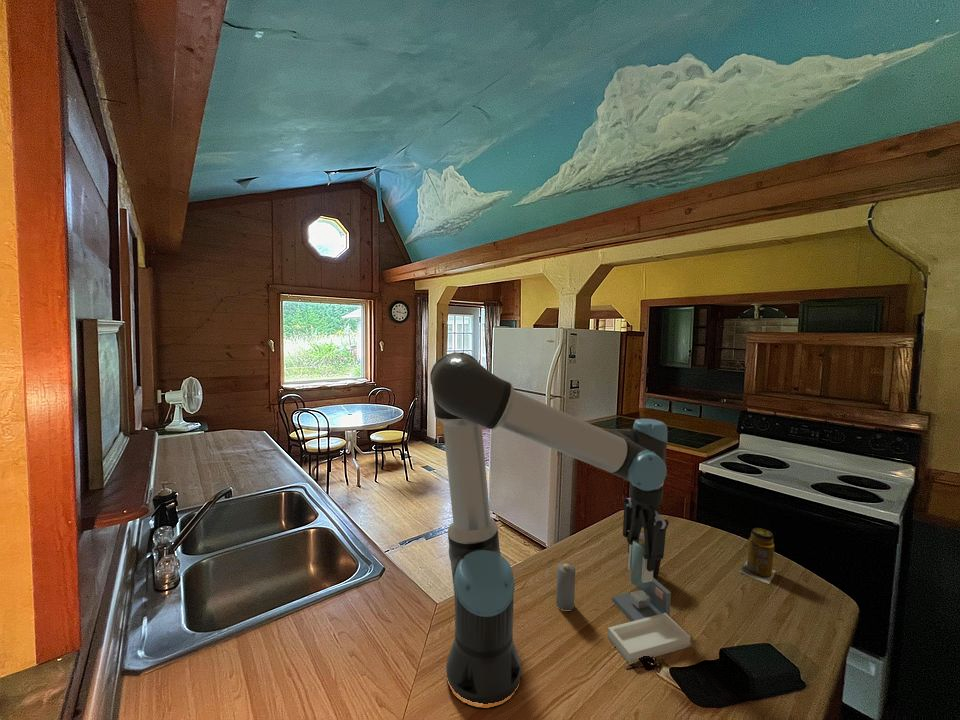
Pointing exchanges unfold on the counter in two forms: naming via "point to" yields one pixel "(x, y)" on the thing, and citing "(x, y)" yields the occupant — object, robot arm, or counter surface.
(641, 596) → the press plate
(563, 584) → the cell
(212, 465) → the counter surface
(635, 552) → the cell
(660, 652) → the trough
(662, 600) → the grey l-shaped piece
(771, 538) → the condiment
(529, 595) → the counter surface
